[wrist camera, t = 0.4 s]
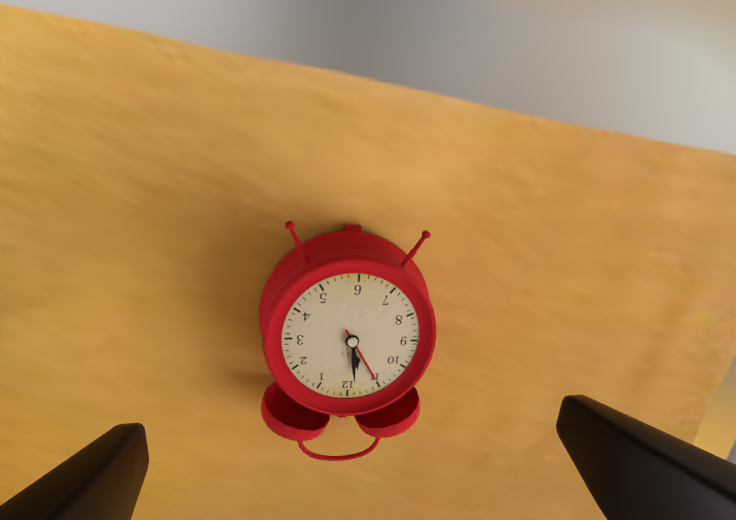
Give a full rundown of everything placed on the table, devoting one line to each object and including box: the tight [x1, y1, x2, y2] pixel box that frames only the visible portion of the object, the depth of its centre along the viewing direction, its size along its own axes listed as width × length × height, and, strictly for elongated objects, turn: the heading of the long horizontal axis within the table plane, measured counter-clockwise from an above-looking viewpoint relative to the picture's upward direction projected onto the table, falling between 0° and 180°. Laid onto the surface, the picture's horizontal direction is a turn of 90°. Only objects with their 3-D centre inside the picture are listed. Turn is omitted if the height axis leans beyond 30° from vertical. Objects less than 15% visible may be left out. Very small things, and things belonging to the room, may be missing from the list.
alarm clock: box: [259, 221, 436, 461], centre depth 21 cm, size 10×6×15 cm
